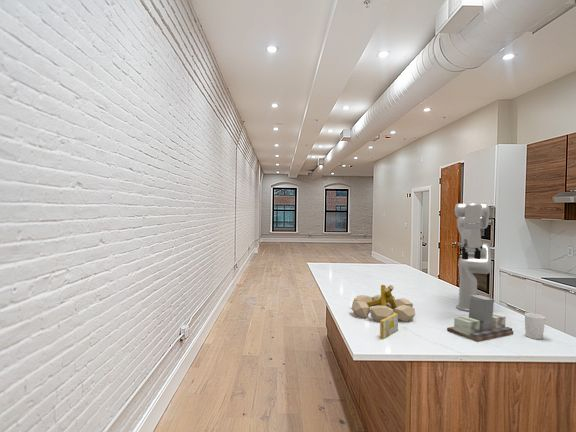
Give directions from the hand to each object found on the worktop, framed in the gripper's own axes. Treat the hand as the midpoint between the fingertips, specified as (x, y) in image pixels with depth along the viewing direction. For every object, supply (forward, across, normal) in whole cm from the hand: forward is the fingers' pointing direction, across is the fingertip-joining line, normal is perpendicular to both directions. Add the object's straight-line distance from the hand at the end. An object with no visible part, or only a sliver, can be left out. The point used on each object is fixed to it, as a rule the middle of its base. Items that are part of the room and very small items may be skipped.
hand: (471, 259), depth 189 cm
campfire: (+34, +34, -29) cm, 56 cm away
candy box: (+34, +54, -1) cm, 64 cm away
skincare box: (+32, +10, +14) cm, 36 cm away
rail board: (+33, +11, +14) cm, 38 cm away
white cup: (+34, -8, +28) cm, 44 cm away
